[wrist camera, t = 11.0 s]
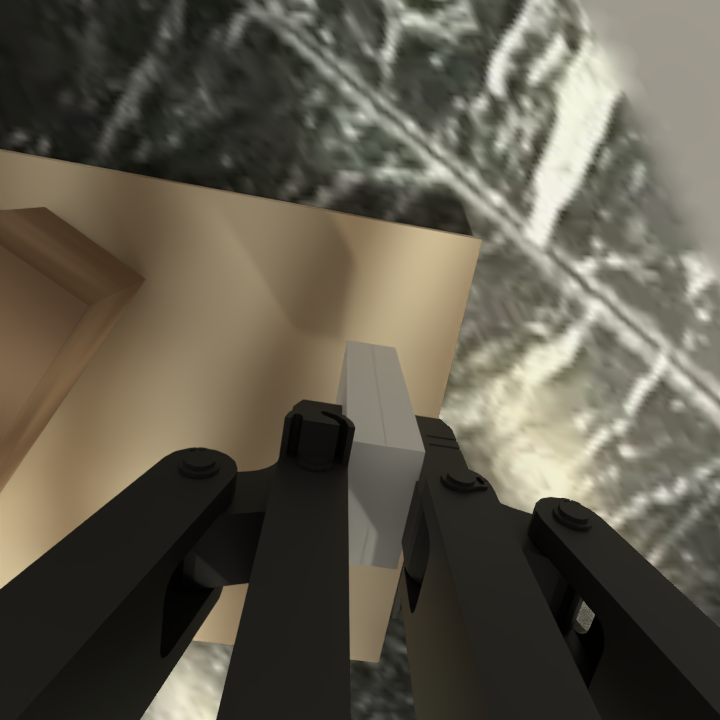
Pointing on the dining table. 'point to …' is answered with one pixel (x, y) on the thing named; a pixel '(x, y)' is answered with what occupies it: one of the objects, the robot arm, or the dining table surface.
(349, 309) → the board
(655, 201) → the dining table surface
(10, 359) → the leg
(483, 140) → the dining table surface
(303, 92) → the dining table surface
